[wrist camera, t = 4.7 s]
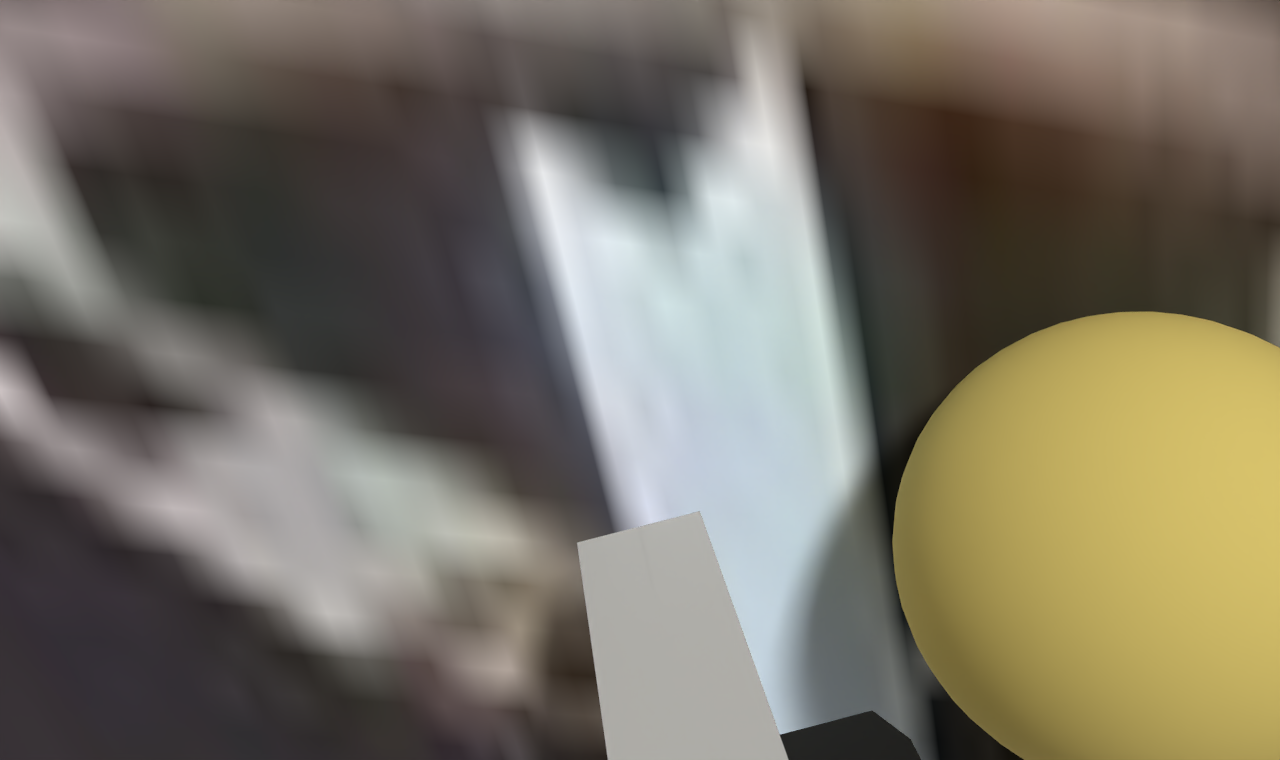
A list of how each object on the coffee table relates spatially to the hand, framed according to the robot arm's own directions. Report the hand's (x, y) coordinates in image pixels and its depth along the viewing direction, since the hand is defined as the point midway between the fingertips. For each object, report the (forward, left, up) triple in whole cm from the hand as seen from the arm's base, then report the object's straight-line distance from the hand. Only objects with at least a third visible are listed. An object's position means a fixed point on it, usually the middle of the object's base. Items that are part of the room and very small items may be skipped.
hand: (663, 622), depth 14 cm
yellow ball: (-5, 0, +1) cm, 6 cm away
